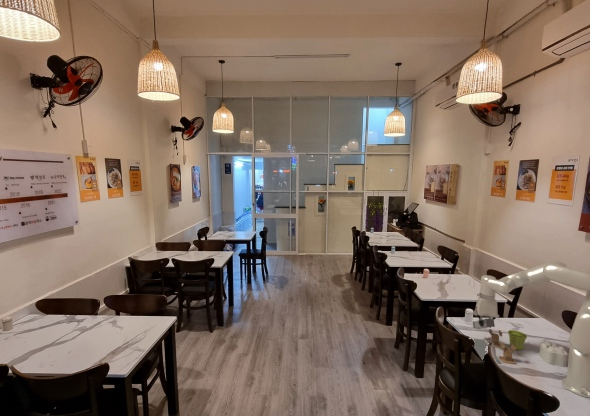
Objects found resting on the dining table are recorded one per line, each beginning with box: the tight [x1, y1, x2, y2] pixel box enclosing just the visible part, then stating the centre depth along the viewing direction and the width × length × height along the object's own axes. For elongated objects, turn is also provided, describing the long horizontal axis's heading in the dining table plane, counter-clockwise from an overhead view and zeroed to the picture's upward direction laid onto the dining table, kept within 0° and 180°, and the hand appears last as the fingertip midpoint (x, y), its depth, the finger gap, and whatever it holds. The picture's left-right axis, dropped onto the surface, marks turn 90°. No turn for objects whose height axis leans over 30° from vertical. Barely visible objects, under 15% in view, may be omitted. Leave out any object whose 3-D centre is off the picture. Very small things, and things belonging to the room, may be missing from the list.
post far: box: [486, 328, 503, 349], centre depth 173 cm, size 5×6×9 cm
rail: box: [472, 318, 496, 330], centre depth 169 cm, size 22×4×4 cm
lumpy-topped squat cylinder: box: [539, 341, 568, 368], centre depth 160 cm, size 10×13×9 cm
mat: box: [473, 337, 502, 364], centre depth 168 cm, size 24×9×1 cm, turn 166°
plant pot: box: [507, 329, 528, 351], centre depth 171 cm, size 9×9×9 cm
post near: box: [498, 342, 517, 366], centre depth 158 cm, size 5×6×9 cm
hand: (484, 325), depth 167 cm, fingers closed on rail, 3 cm apart
